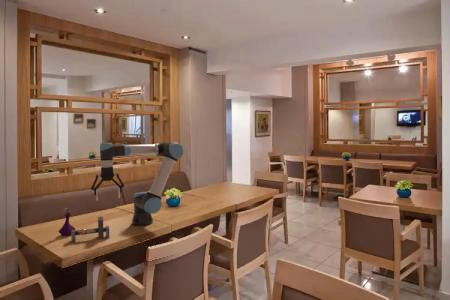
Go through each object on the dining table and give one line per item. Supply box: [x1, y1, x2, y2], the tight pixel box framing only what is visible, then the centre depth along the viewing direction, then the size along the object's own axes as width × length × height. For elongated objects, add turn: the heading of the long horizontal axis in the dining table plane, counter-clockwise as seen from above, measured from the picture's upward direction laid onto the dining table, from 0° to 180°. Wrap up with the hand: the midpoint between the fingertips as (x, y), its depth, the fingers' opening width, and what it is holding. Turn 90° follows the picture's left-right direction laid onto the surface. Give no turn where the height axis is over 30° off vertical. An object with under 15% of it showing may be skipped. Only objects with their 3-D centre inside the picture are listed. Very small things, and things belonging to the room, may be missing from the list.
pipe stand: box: [71, 225, 110, 243], centre depth 200 cm, size 22×5×7 cm, turn 112°
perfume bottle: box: [58, 208, 76, 237], centre depth 208 cm, size 8×8×18 cm
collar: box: [97, 216, 105, 239], centre depth 202 cm, size 3×9×12 cm, turn 22°
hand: (108, 199), depth 204 cm, fingers open, 13 cm apart
